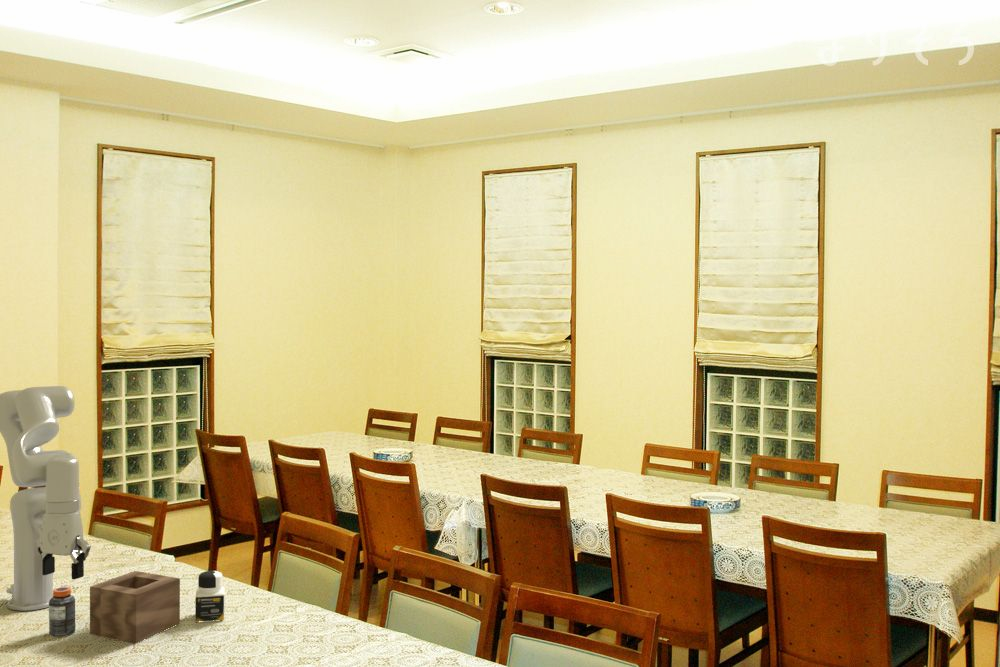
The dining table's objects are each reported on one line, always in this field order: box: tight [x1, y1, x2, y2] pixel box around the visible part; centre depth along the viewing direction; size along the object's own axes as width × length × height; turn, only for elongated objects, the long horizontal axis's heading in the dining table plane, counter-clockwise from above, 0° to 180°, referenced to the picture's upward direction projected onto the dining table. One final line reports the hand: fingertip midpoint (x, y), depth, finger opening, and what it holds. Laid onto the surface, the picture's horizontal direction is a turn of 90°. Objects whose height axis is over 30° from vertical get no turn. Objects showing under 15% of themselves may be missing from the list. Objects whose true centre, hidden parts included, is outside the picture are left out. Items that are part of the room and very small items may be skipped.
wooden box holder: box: [89, 570, 181, 644], centre depth 236 cm, size 15×15×12 cm
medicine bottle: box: [194, 570, 226, 623], centre depth 246 cm, size 7×7×12 cm
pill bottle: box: [48, 586, 77, 638], centre depth 232 cm, size 6×6×11 cm
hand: (63, 575), depth 231 cm, fingers open, 9 cm apart
